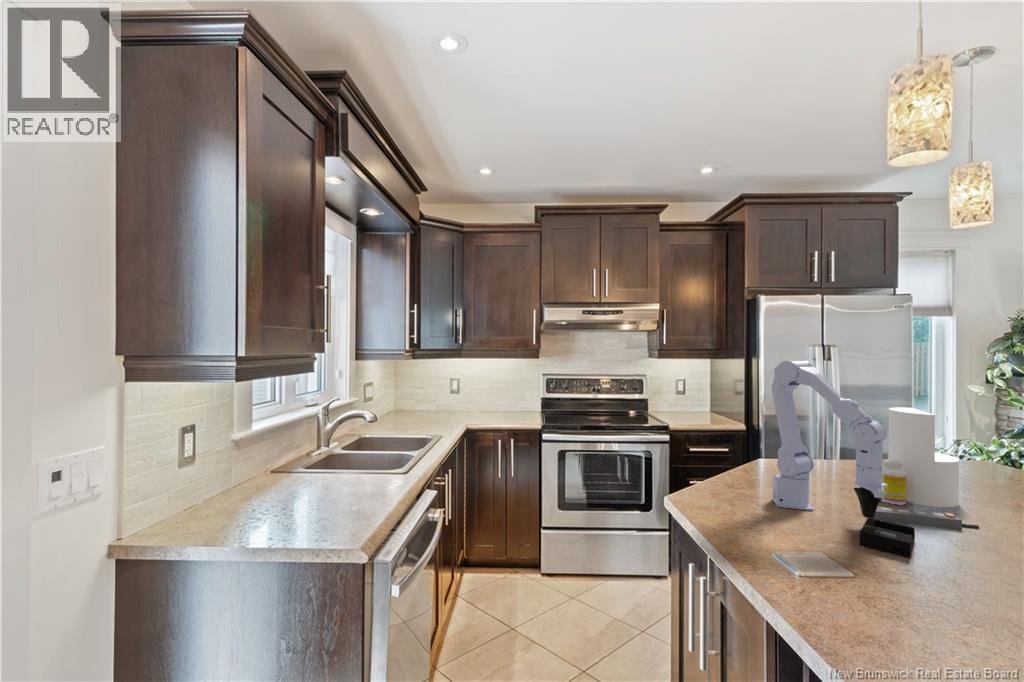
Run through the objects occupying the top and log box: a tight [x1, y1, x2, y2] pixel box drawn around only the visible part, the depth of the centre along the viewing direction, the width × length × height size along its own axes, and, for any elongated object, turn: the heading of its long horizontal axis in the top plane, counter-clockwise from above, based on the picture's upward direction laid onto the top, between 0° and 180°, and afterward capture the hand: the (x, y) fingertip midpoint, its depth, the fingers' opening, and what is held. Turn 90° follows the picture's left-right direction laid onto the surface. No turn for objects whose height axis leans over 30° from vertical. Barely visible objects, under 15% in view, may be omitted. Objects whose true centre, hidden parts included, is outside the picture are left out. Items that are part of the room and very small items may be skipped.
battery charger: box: [859, 517, 916, 559], centre depth 117 cm, size 13×10×4 cm
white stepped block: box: [887, 407, 960, 508], centre depth 152 cm, size 17×17×28 cm
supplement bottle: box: [880, 458, 907, 506], centre depth 148 cm, size 7×7×13 cm
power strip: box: [871, 505, 980, 530], centre depth 131 cm, size 25×5×3 cm, turn 72°
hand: (868, 516), depth 127 cm, fingers closed
